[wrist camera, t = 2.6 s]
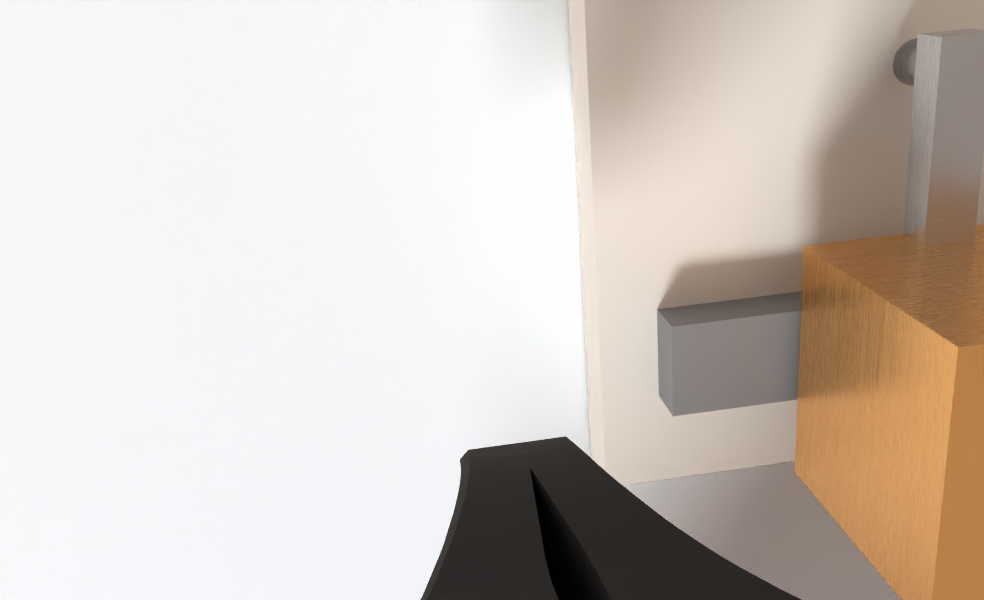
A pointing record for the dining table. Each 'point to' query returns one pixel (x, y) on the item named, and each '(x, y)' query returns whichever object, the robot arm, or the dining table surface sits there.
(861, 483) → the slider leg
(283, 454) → the dining table surface
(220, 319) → the dining table surface
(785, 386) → the pitch plate
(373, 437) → the dining table surface
